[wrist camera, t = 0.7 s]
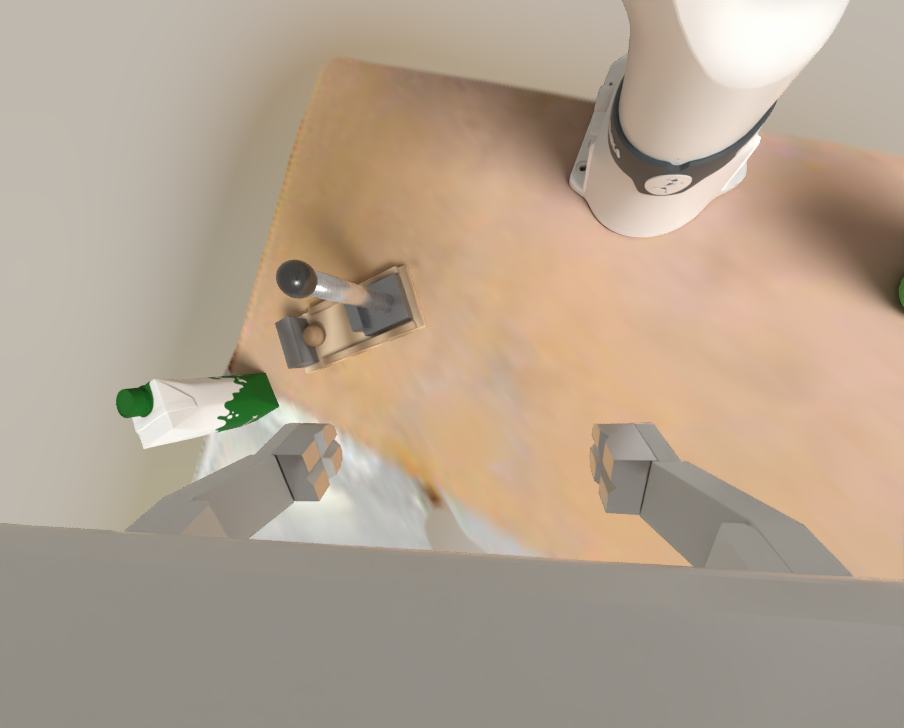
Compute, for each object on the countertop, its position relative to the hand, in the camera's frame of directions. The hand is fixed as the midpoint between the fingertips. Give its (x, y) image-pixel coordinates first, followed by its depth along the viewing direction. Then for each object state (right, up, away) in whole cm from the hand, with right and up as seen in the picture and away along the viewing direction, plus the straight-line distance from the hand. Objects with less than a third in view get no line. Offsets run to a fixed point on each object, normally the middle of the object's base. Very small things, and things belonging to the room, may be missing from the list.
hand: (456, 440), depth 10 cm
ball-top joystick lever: (-11, +11, +41) cm, 44 cm away
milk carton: (-37, -4, +53) cm, 65 cm away
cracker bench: (-16, +9, +44) cm, 48 cm away
